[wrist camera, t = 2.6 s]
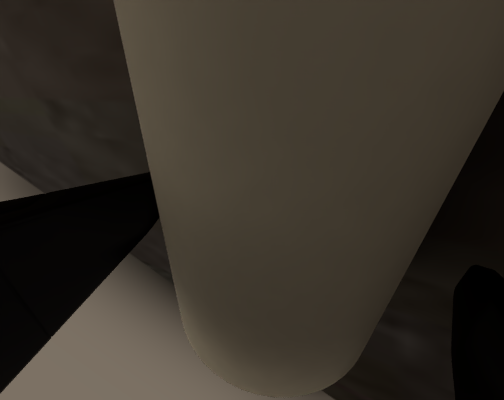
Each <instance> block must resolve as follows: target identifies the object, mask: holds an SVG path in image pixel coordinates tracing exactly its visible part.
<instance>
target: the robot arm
mask: <svg viewBox="0 0 504 400" xmlns="http://www.w3.org/2000/svg"><path fill="white" fill-rule="evenodd" d="M159 217H160V215H159V211H158V206H157V201H156V197H155V192H154V187H153V183H152V178H151V173H150V172H148V173H143V174H138V175H133V176H129V177H124V178H119V179H114V180H109V181H104V182H99V183H94V184H89V185H84V186H79V187H74V188H69V189H64V190H59V191H54V192H49V193H46V194H39V195H34V196H29V197H24V198H19V199H13V200H8V201H2V202H0V393H1V392H2V391H3V390H4V389H5V388H6V387H7V386H8V385H9V383H10V382H11V381H12V380H13V379H14V378H15V377H16V376H17V375H18V374H19V373H20V371H21V370H22V369H23V368H24V367H25V366H26V365H27V364H28V363H29V362H30V361H31V359H32V358H33V357H34V356H35V355H36V354H37V353H38V352H39V351H40V350H41V349H42V347H43V346H44V345H45V344H46V343H47V342H48V341H49V340H50V339H51V336H53V335H54V334H55V333H56V332H57V331H58V330H59V329H60V327H61V326H62V325H63V324H64V323H65V322H66V321H67V320H68V319H69V318H70V317H71V316H72V314H73V313H74V312H75V311H76V310H77V309H78V308H79V307H80V306H81V305H82V303H83V302H84V301H85V300H86V299H87V298H88V297H89V296H90V295H91V294H92V293H93V292H94V291H95V289H96V288H97V287H98V286H99V285H100V284H101V283H102V282H103V280H104V279H106V277H107V276H108V275H109V274H110V273H111V272H112V271H113V270H114V269H115V268H116V267H117V265H118V264H119V263H120V262H121V261H122V260H123V259H124V258H125V257H126V256H127V255H128V254H129V252H130V251H131V250H132V249H133V248H134V247H135V246H136V245H137V244H138V243H139V242H140V240H141V239H142V238H143V237H144V236H145V235H146V234H147V233H148V232H149V230H150V229H151V228H152V227H153V225H154V224H155V223H156V221H157V220H158V219H159ZM451 354H452V368H453V379H454V390H455V400H504V278H503V277H502V276H501V275H500V274H499V273H497V272H496V271H495V270H492V269H489V268H486V267H482V266H479V265H473V266H471V267H470V268H469V269H468V270H467V272H466V273H465V275H464V276H463V277H462V279H461V280H460V281H459V283H458V284H457V286H456V287H455V290H454V296H453V319H452V342H451Z"/></svg>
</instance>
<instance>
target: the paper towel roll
mask: <svg viewBox="0 0 504 400" xmlns="http://www.w3.org/2000/svg"><path fill="white" fill-rule="evenodd" d="M113 1H114V5H115V10H116V15H117V19H118V24H119V29H120V33H121V38H122V43H123V47H124V52H125V57H126V61H127V66H128V71H129V75H130V80H131V85H132V89H133V94H134V99H135V103H136V108H137V113H138V117H139V122H140V127H141V131H142V136H143V141H144V145H145V150H146V155H147V159H148V164H149V169H150V173H151V178H152V183H153V187H154V192H155V197H156V201H157V206H158V211H159V215H160V220H161V225H162V229H163V234H164V239H165V243H166V248H167V253H168V257H169V262H170V267H171V271H172V276H173V281H174V285H175V290H176V295H177V299H178V304H179V309H180V313H181V318H182V322H183V327H184V331H185V333H186V336H187V338H188V341H189V342H190V344H191V346H192V348H193V349H194V351H195V353H196V354H197V355H198V357H199V358H200V359H201V360H202V361H203V363H204V364H205V365H206V366H207V367H208V368H209V369H210V370H212V371H213V372H214V373H215V374H216V375H217V376H219V377H220V378H222V379H223V380H225V381H226V382H228V383H230V384H232V385H234V386H236V387H238V388H240V389H242V390H245V391H248V392H251V393H254V394H257V395H263V396H270V397H296V396H303V395H308V394H311V393H314V392H317V391H320V390H322V389H324V388H326V387H328V386H330V385H332V384H334V383H335V382H337V381H338V380H339V379H340V378H342V377H343V376H344V375H346V373H347V372H348V371H349V370H350V369H351V368H352V367H353V366H354V365H355V363H356V361H357V360H358V358H359V357H360V355H361V353H362V352H363V350H364V348H365V346H366V344H367V342H368V340H369V339H370V337H371V335H372V333H373V331H374V329H375V328H376V326H377V324H378V322H379V320H380V318H381V316H382V315H383V313H384V311H385V309H386V307H387V305H388V304H389V302H390V300H391V298H392V296H393V294H394V292H395V291H396V289H397V287H398V285H399V283H400V281H401V280H402V278H403V276H404V274H405V272H406V270H407V269H408V267H409V265H410V263H411V261H412V259H413V257H414V256H415V254H416V252H417V250H418V248H419V246H420V245H421V243H422V241H423V239H424V237H425V235H426V233H427V232H428V230H429V228H430V226H431V224H432V222H433V221H434V219H435V217H436V215H437V213H438V211H439V210H440V208H441V206H442V204H443V202H444V200H445V198H446V197H447V195H448V193H449V191H450V189H451V187H452V186H453V184H454V182H455V180H456V178H457V176H458V174H459V173H460V171H461V169H462V167H463V165H464V163H465V162H466V160H467V158H468V156H469V154H470V152H471V151H472V149H473V147H474V145H475V143H476V141H477V139H478V138H479V136H480V134H481V132H482V130H483V128H484V127H485V125H486V123H487V121H488V119H489V117H490V115H491V114H492V112H493V110H494V108H495V106H496V104H497V103H498V101H499V99H500V97H501V95H502V93H503V92H504V0H113Z"/></svg>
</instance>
